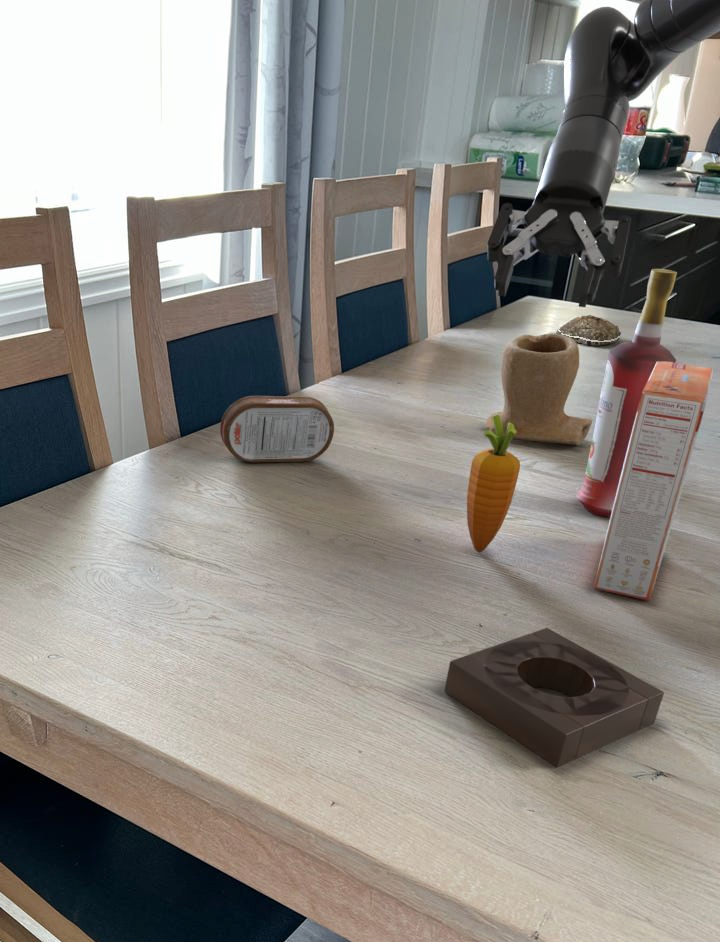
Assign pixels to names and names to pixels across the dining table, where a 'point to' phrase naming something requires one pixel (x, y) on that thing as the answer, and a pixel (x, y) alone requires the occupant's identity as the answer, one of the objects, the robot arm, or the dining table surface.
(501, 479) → the carrot
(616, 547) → the cracker box
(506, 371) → the stone cup
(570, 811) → the dining table surface
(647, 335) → the liquor
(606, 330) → the brown shell
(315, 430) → the tin
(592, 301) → the robot arm
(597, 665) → the socket pad
